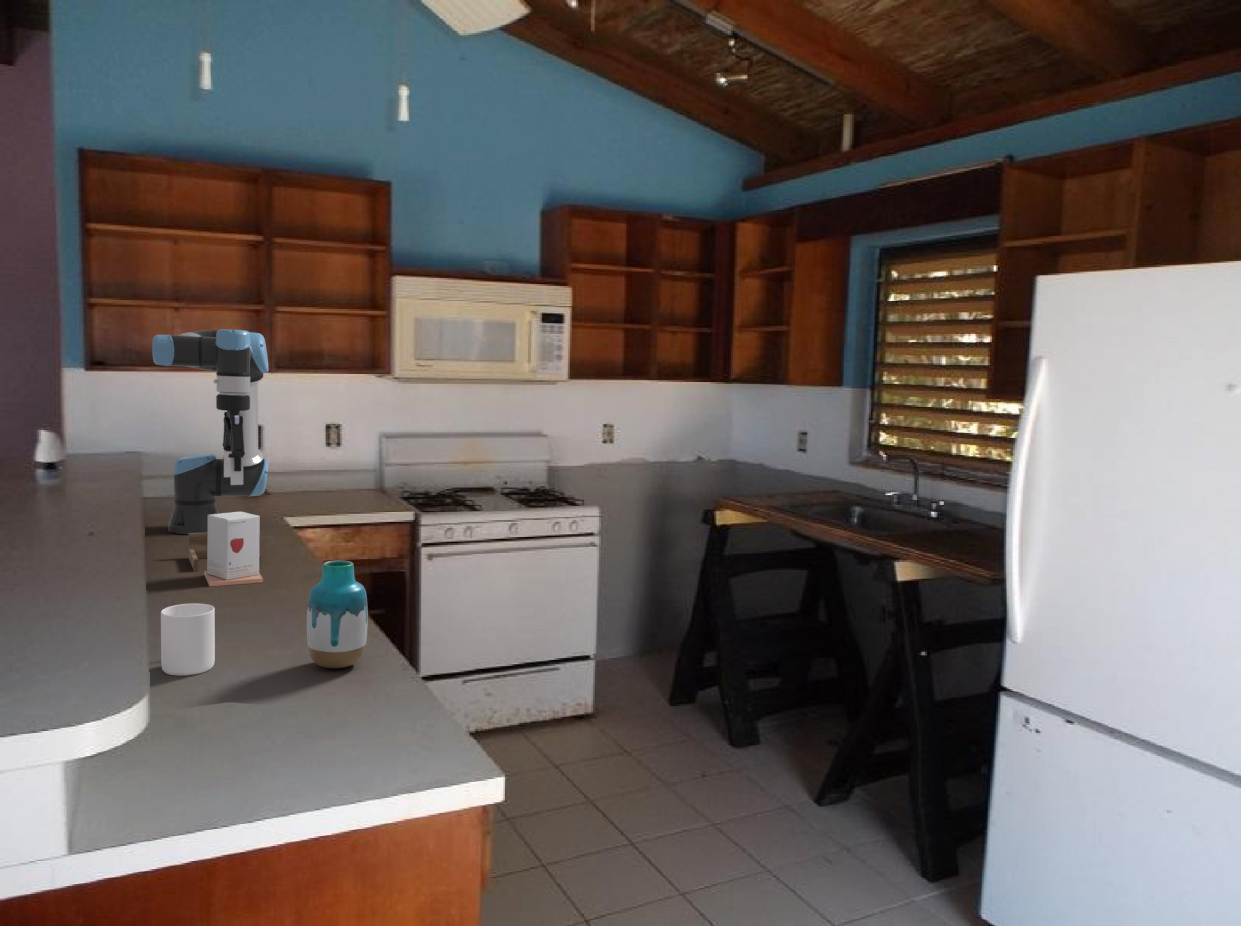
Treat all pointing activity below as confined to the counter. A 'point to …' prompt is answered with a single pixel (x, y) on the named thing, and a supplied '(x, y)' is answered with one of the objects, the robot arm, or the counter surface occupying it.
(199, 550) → the wooden u-shaped frame
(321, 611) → the vase
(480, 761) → the counter surface
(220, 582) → the terracotta tile
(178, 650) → the mug
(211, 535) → the supplement box
